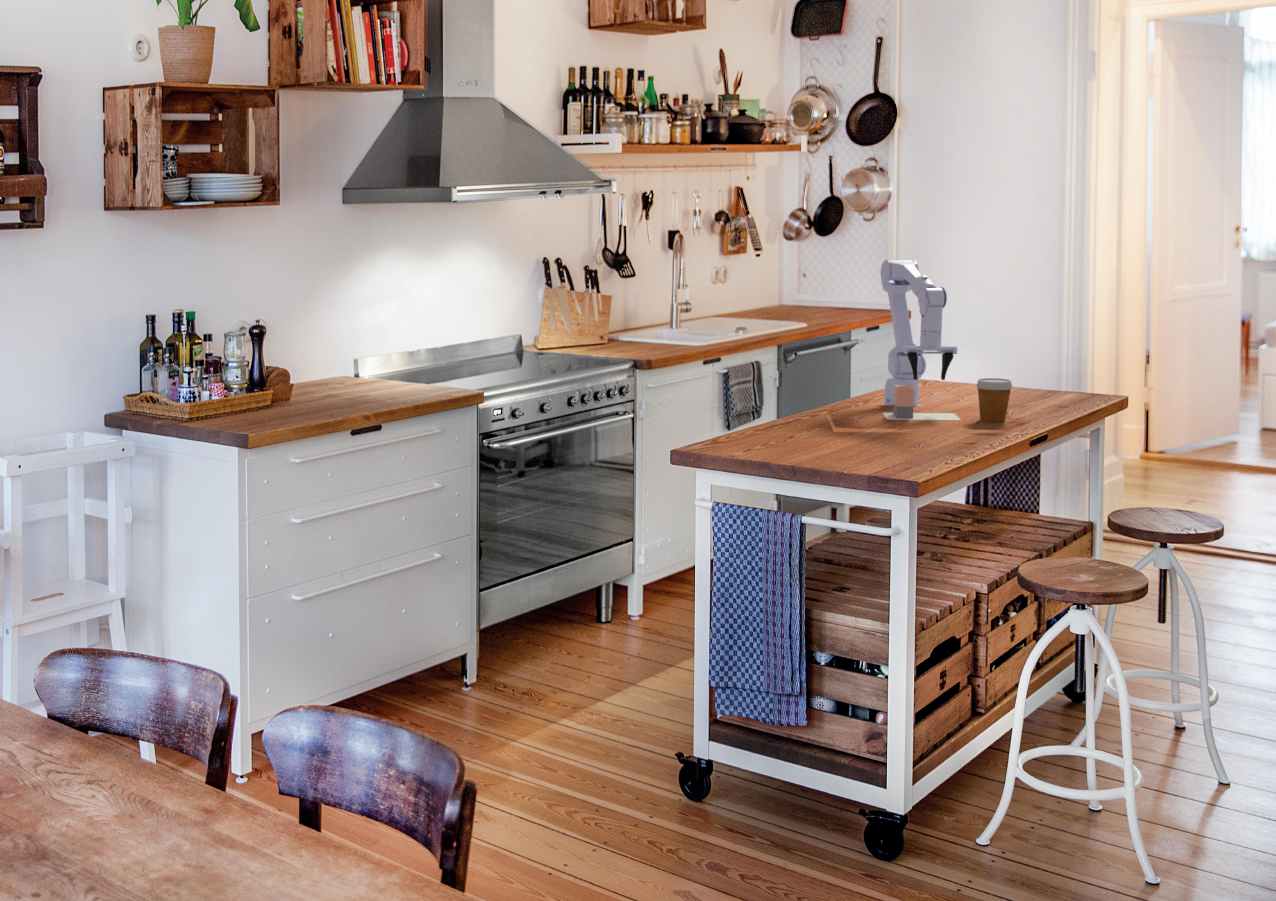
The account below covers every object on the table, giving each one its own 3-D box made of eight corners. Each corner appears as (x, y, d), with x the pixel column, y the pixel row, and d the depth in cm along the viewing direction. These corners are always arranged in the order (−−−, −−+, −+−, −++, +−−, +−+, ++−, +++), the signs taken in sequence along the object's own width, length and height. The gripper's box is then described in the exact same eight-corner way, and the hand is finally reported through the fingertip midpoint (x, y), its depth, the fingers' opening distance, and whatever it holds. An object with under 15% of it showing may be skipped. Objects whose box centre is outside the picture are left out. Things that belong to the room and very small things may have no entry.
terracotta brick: (896, 406, 344) (897, 388, 344) (893, 402, 351) (894, 385, 350) (913, 406, 344) (914, 388, 343) (910, 402, 351) (910, 385, 350)
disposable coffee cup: (1004, 428, 335) (1007, 383, 332) (969, 425, 340) (971, 381, 337) (1014, 423, 343) (1017, 379, 340) (980, 420, 348) (982, 377, 345)
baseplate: (886, 422, 343) (887, 419, 343) (882, 416, 355) (882, 412, 355) (961, 423, 341) (961, 420, 341) (953, 416, 353) (954, 413, 353)
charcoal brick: (896, 418, 345) (896, 406, 344) (893, 414, 352) (893, 402, 351) (912, 418, 345) (913, 406, 344) (909, 414, 352) (910, 402, 351)
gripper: (906, 332, 347) (904, 381, 350) (959, 332, 346) (957, 381, 348) (903, 329, 354) (901, 377, 356) (955, 330, 353) (953, 378, 355)
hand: (929, 379), depth 353 cm, fingers open, 7 cm apart
